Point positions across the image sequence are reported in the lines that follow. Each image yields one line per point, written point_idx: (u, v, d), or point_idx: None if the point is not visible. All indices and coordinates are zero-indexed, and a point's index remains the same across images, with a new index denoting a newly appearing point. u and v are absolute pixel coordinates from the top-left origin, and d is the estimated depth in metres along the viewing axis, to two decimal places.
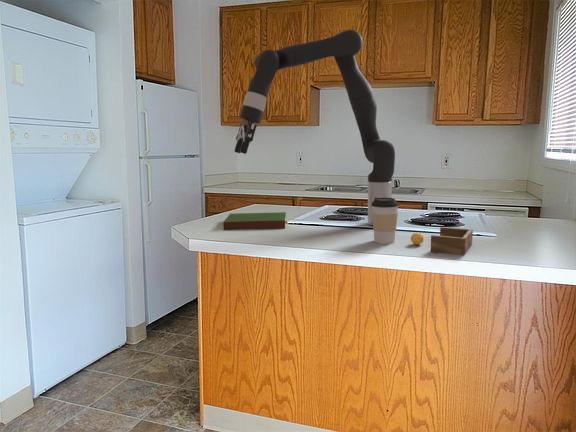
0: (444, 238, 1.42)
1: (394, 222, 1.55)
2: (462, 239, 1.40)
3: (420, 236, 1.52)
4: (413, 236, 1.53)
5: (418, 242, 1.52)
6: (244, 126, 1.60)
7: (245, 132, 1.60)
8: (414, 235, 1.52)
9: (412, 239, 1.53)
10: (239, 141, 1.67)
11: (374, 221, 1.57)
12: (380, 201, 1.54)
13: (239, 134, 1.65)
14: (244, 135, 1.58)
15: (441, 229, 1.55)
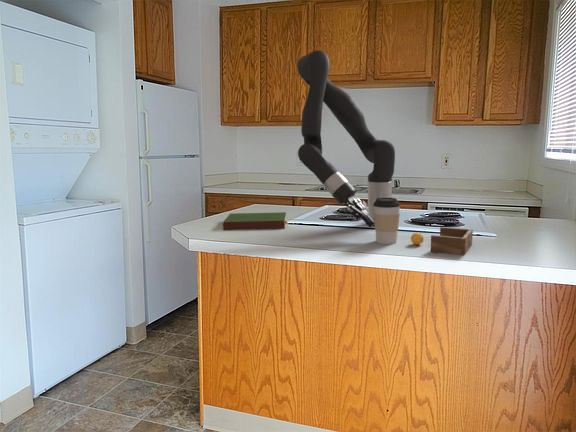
0: (444, 238, 1.42)
1: (396, 222, 1.55)
2: (462, 239, 1.40)
3: (420, 236, 1.52)
4: (413, 236, 1.53)
5: (418, 242, 1.52)
6: None
7: None
8: (414, 235, 1.52)
9: (412, 239, 1.53)
10: None
11: (376, 221, 1.56)
12: (382, 201, 1.54)
13: None
14: None
15: (441, 229, 1.55)
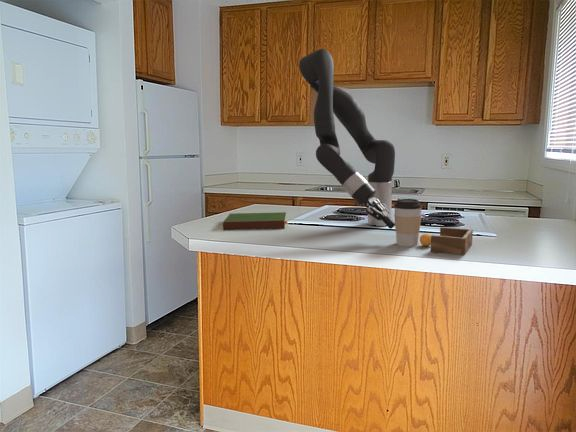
0: (444, 238, 1.42)
1: (418, 224, 1.51)
2: (462, 239, 1.40)
3: (428, 245, 1.51)
4: (427, 239, 1.50)
5: (422, 243, 1.51)
6: None
7: None
8: (428, 240, 1.50)
9: (424, 238, 1.50)
10: None
11: (397, 223, 1.52)
12: (404, 202, 1.50)
13: None
14: None
15: (441, 229, 1.55)
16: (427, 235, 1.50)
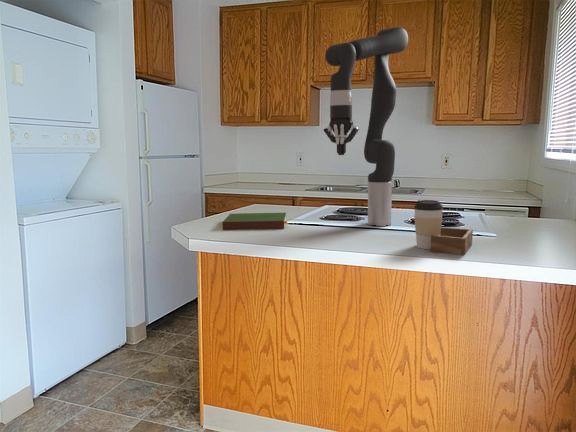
0: (444, 238, 1.42)
1: (439, 226, 1.47)
2: (462, 239, 1.40)
3: None
4: None
5: None
6: (344, 127, 1.61)
7: None
8: None
9: None
10: (340, 142, 1.64)
11: (417, 225, 1.49)
12: (425, 204, 1.46)
13: (338, 134, 1.63)
14: (343, 138, 1.62)
15: (441, 229, 1.55)
16: None
